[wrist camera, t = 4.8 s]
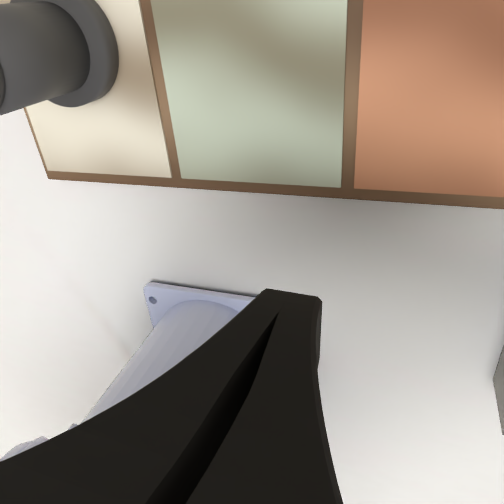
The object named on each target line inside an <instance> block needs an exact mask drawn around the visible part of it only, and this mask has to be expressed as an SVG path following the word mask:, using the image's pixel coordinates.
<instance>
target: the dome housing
mask: <svg viewBox="0 0 504 504" xmlns="http://www.w3.org/2000/svg"><path fill="white" fill-rule="evenodd" d="M493 382H494V388H495V394H496V400H497V406H498V411H499V417H500V423H501V429H502V435H504V347H503V350H502V353H501V356H500V359H499V362H498V365H497V369H496V372H495V375H494V378H493Z"/></svg>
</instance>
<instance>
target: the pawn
mask: <svg viewBox="0 0 504 504" xmlns="http://www.w3.org/2000/svg"><path fill="white" fill-rule="evenodd" d="M118 68H119V51H118V45H117V41H116V37H115V34H114V31H113V28H112V26H111V24H110V22H109V20H108V18H107V16H106V15H105V13H104V11H103V10H102V9H101V7H100V6H99V5H98V3H97V2H96V1H95V0H11V1H10V3H5V4H0V115H3V114H6V113H9V112H12V111H15V110H18V109H21V108H24V107H27V106H30V105H33V104H36V103H39V102H42V101H46V100H48V101H50V102H52V103H54V104H57V105H59V106H63V107H71V108H72V107H79V106H83V105H85V104H88V103H91V102H93V101H96V100H98V99H100V98H102V97H103V96H105V95H106V94H107V93H108V92H109V91H110V90H111V88H112V87H113V85H114V83H115V80H116V77H117V74H118Z"/></svg>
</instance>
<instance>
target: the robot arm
mask: <svg viewBox="0 0 504 504" xmlns="http://www.w3.org/2000/svg"><path fill="white" fill-rule="evenodd" d="M144 295H145V298H146V302H147V306H148V310H149V313H150V317H151V321H152V325H153V330H152V332H151V333H150V334H149V335H148V337H147V338H146V339H145V341H144V342H143V343H142V345H141V346H140V347H139V348H138V350H137V351H136V352H135V354H134V355H133V356H132V358H131V359H130V360H129V361H128V363H127V364H126V365H125V367H124V368H123V369H122V371H121V372H120V373H119V375H118V376H117V377H116V378H115V380H114V381H113V382H112V384H111V385H110V386H109V388H108V389H107V390H106V391H105V393H104V394H103V395H102V397H101V398H100V399H99V401H98V402H97V403H96V404H95V406H94V407H93V408H92V410H91V411H90V412H89V414H88V415H87V416H86V418H85V419H84V420H83V421H82V423H81V424H79V425H77V424H72V425H71V427H70V428H69V429H68V430H67V431H66V432H64V433H62V434H60V435H58V436H56V437H53V438H51V439H47V438H46V437H39V438H37V439H35V440H34V441H29V442H25V443H21V444H19V445H17V446H15V447H14V448H13V449H11V450H10V451H9V452H8V453H7V454H5V455H4V456H3V457H2V458H1V459H0V504H343V501H342V497H341V494H340V490H339V486H338V483H337V479H336V474H335V470H334V466H333V461H332V457H331V453H330V448H329V443H328V438H327V433H326V428H325V423H324V417H323V411H322V404H321V397H320V390H319V382H318V372H317V369H318V363H319V356H320V336H321V316H322V301H321V300H320V299H319V298H318V297H316V296H310V295H304V294H298V293H292V292H286V291H280V290H274V289H267V288H266V289H265V290H263V291H262V292H261V293H260V294H259V295H258V296H257V297H249V296H242V295H235V294H228V293H222V292H215V291H208V290H201V289H195V288H188V287H181V286H175V285H168V284H161V283H154V282H149V283H147V285H146V286H145V287H144ZM153 297H154V298H153Z"/></svg>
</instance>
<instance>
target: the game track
mask: <svg viewBox="0 0 504 504" xmlns="http://www.w3.org/2000/svg"><path fill="white" fill-rule="evenodd" d="M10 1H11V0H0V4H5V3H10ZM95 1H96V2H97V3H98V5H99V6H100V7H101V9H102V10H103V11H104V13H105V15H106V16H107V18H108V20H109V22H110V24H111V26H112V28H113V31H114V34H115V37H116V41H117V45H118V51H119V68H118V74H117V77H116V80H115V83H114V85H113V87H112V88H111V90H110V91H109V92H108V93H107V94H106V95H105V96H103V97H102V98H100V99H98V100H96V101H93V102H91V103H88V104H85V105H83V106H79V107H72V108H71V107H63V106H59V105H57V104H54V103H52V102H50V101H48V100H46V101H42V102H39V103H36V104H33V105H30V106H27V107H24V111H25V113H26V116H27V119H28V122H29V125H30V128H31V131H32V133H33V136H34V139H35V142H36V145H37V148H38V151H39V153H40V156H41V159H42V162H43V165H44V168H45V171H46V174H47V176H48V179H56V180H71V181H86V182H101V183H117V184H132V185H147V186H162V187H177V188H192V189H207V190H222V191H237V192H252V193H267V194H282V195H297V196H313V197H328V198H343V199H358V200H373V201H388V202H403V203H418V204H433V205H448V206H463V207H478V208H493V209H504V0H95Z"/></svg>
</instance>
